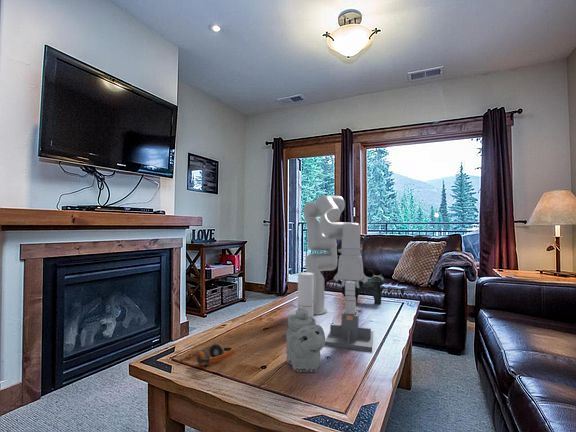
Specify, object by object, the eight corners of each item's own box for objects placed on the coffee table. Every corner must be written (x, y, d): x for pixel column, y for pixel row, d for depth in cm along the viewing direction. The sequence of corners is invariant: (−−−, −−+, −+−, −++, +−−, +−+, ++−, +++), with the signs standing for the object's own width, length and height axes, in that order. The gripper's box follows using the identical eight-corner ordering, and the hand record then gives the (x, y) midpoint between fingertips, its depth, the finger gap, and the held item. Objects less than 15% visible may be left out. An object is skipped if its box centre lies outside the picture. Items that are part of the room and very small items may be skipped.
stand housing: (324, 345, 121) (325, 317, 122) (331, 330, 139) (331, 305, 139) (372, 351, 116) (372, 322, 117) (373, 334, 133) (373, 309, 134)
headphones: (206, 339, 120) (244, 338, 109) (208, 353, 119) (247, 354, 108) (168, 354, 106) (207, 355, 95) (170, 370, 105) (210, 373, 94)
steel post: (344, 327, 126) (345, 282, 127) (345, 323, 130) (346, 281, 131) (354, 328, 125) (355, 283, 125) (355, 325, 129) (355, 281, 129)
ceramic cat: (384, 303, 187) (384, 270, 187) (381, 305, 181) (381, 271, 182) (353, 299, 198) (353, 267, 198) (349, 301, 192) (349, 268, 192)
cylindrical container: (315, 327, 143) (315, 273, 143) (309, 331, 136) (310, 275, 137) (301, 324, 146) (301, 271, 146) (295, 329, 139) (295, 274, 140)
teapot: (319, 383, 92) (319, 320, 93) (273, 374, 98) (274, 314, 98) (332, 361, 108) (332, 307, 108) (291, 354, 113) (292, 302, 114)
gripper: (329, 252, 127) (328, 297, 127) (371, 254, 122) (371, 300, 122) (332, 250, 134) (331, 293, 134) (371, 252, 129) (371, 296, 129)
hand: (350, 296), depth 128 cm, fingers closed on steel post, 4 cm apart
